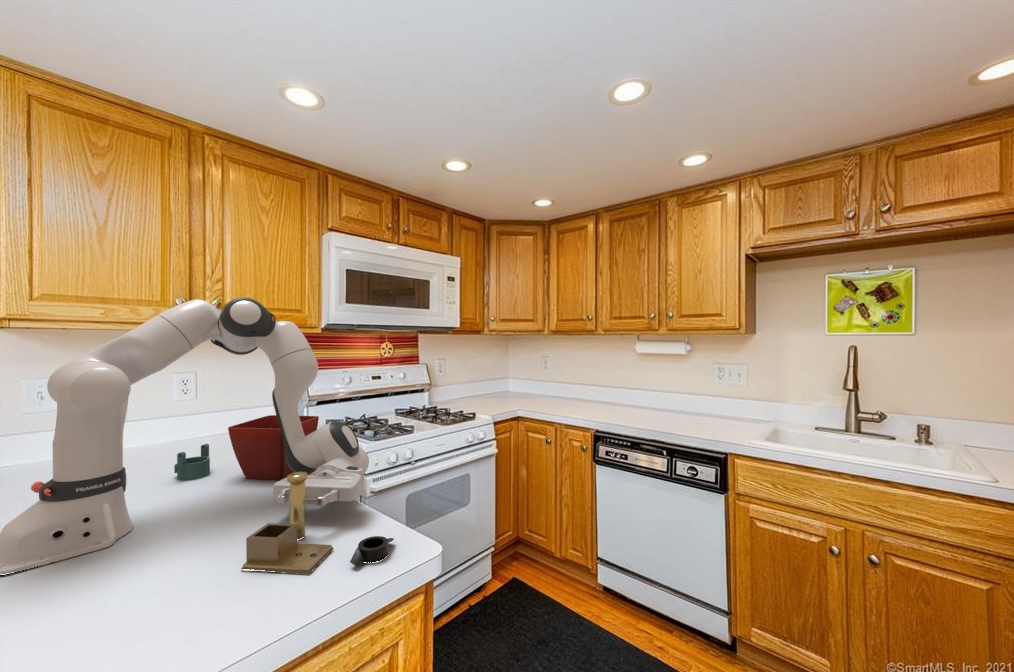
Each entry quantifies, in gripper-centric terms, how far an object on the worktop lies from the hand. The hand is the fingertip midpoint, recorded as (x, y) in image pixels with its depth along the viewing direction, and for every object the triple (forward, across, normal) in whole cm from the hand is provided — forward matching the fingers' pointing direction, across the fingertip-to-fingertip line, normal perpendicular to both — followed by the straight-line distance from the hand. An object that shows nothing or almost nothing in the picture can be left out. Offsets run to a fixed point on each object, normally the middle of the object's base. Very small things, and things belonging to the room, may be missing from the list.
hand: (300, 501), depth 94 cm
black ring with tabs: (+7, +20, +8) cm, 23 cm away
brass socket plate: (+10, +4, +8) cm, 13 cm away
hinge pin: (+1, 0, +8) cm, 8 cm away
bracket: (-34, -56, +8) cm, 66 cm away
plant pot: (-39, -32, +8) cm, 51 cm away
